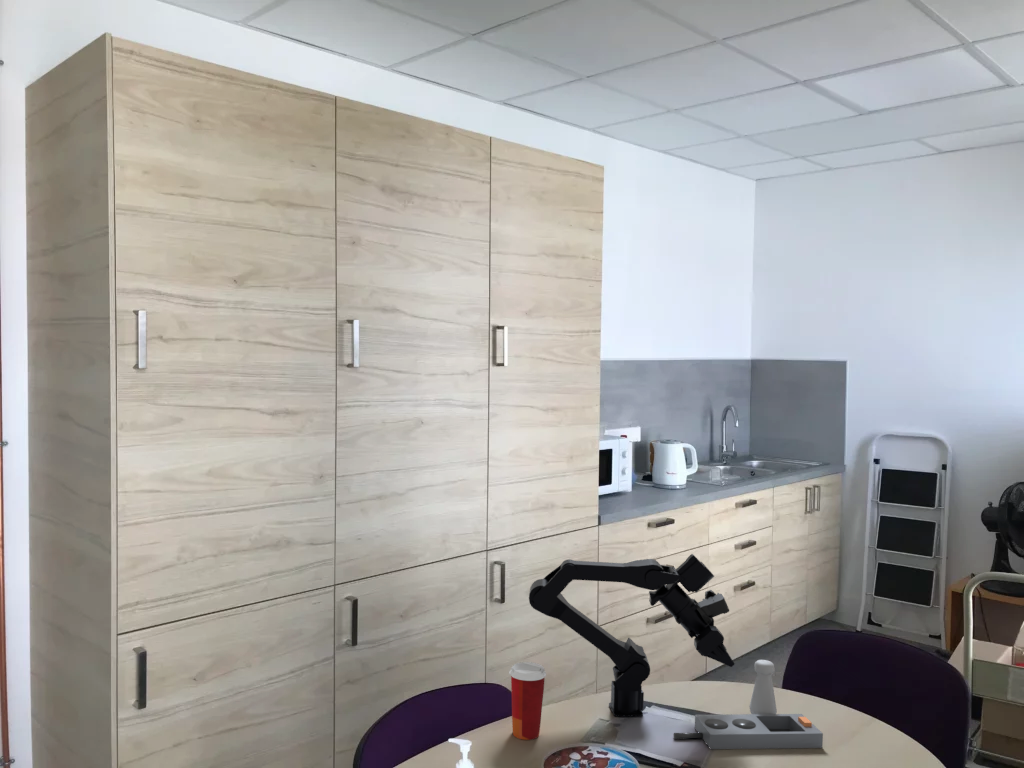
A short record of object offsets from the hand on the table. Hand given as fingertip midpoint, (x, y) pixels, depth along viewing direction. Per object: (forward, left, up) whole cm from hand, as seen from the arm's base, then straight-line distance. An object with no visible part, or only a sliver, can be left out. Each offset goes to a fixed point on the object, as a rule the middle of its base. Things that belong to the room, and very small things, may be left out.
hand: (728, 658), depth 178 cm
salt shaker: (+8, -1, -14) cm, 16 cm away
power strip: (0, -10, -13) cm, 17 cm away
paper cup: (-46, -7, -14) cm, 49 cm away
